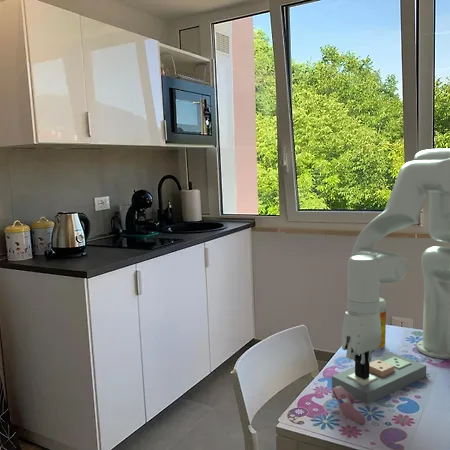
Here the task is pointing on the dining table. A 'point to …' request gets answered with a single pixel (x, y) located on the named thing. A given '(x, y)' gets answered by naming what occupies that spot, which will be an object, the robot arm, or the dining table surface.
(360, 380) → the button one
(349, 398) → the video game controller
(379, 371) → the button two
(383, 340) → the beer can
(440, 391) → the dining table surface
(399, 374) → the panel
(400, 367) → the button three
